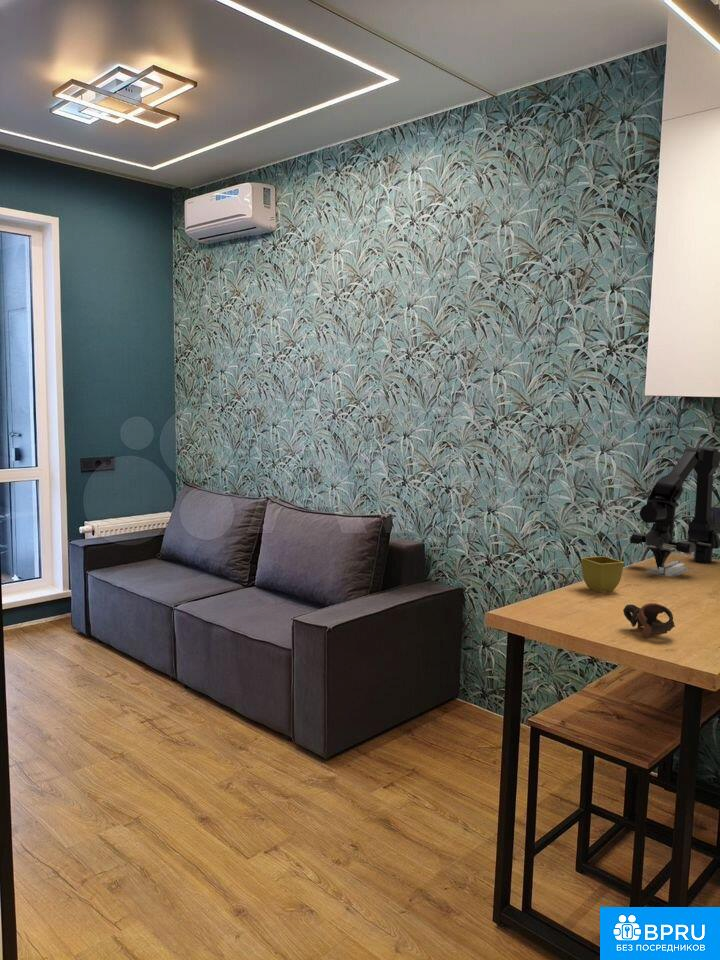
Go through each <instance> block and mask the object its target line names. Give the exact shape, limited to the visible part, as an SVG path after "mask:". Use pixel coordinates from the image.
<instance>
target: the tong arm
mask: <svg viewBox="0 0 720 960" xmlns="http://www.w3.org/2000/svg"><path fill="white" fill-rule="evenodd" d="M679 563H681V561H680V560H673V561H671V562H668V563H664V565H662V566H660V567H659V571H658V573H660V574H665V569H666V568H669V567H671V566H674V565H676V564H679Z"/></svg>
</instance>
